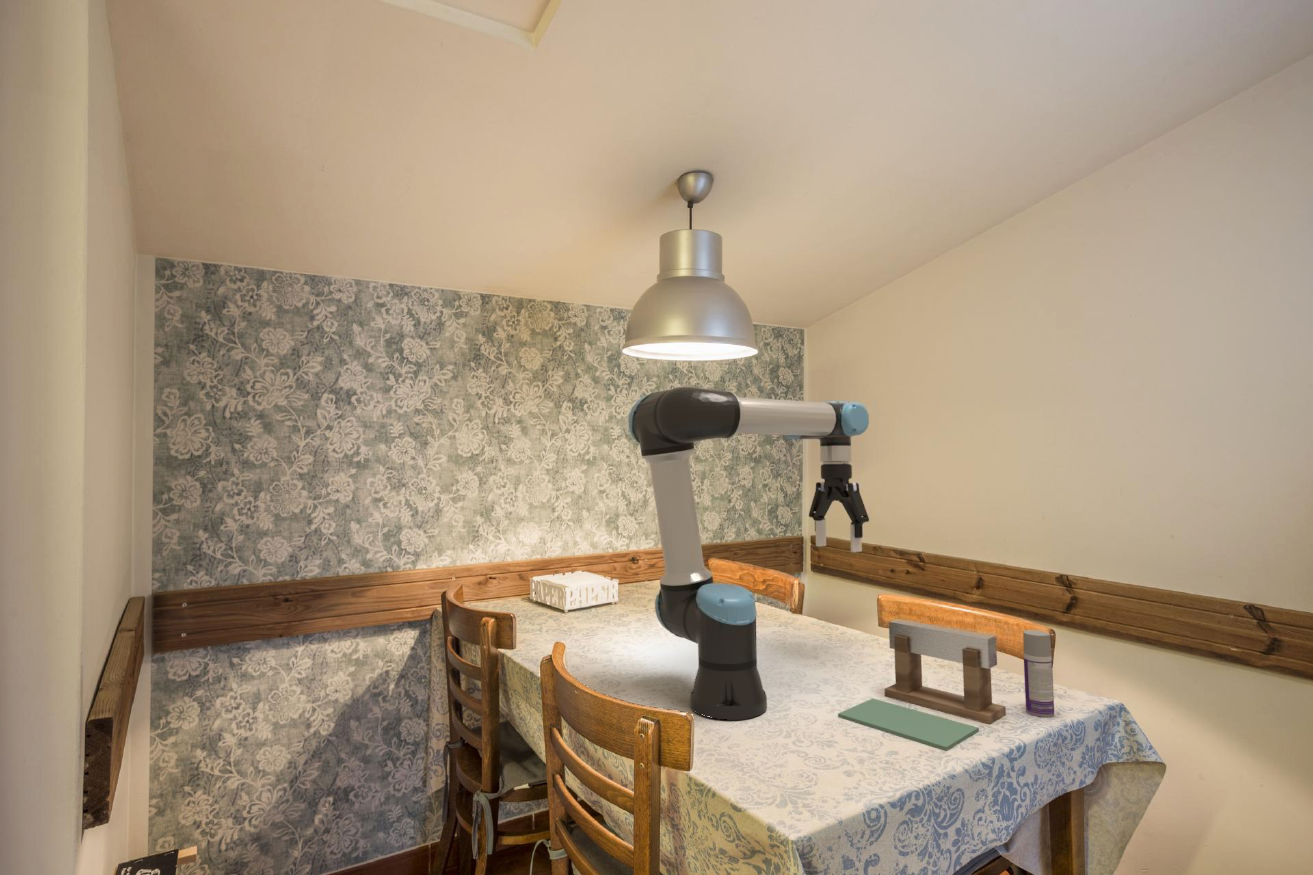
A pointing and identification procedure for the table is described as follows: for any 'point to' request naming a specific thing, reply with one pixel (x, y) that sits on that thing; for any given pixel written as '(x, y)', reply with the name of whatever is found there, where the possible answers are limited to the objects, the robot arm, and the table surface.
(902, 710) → the mat
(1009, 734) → the table surface
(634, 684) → the table surface
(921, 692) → the rack
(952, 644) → the rail
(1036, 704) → the container
